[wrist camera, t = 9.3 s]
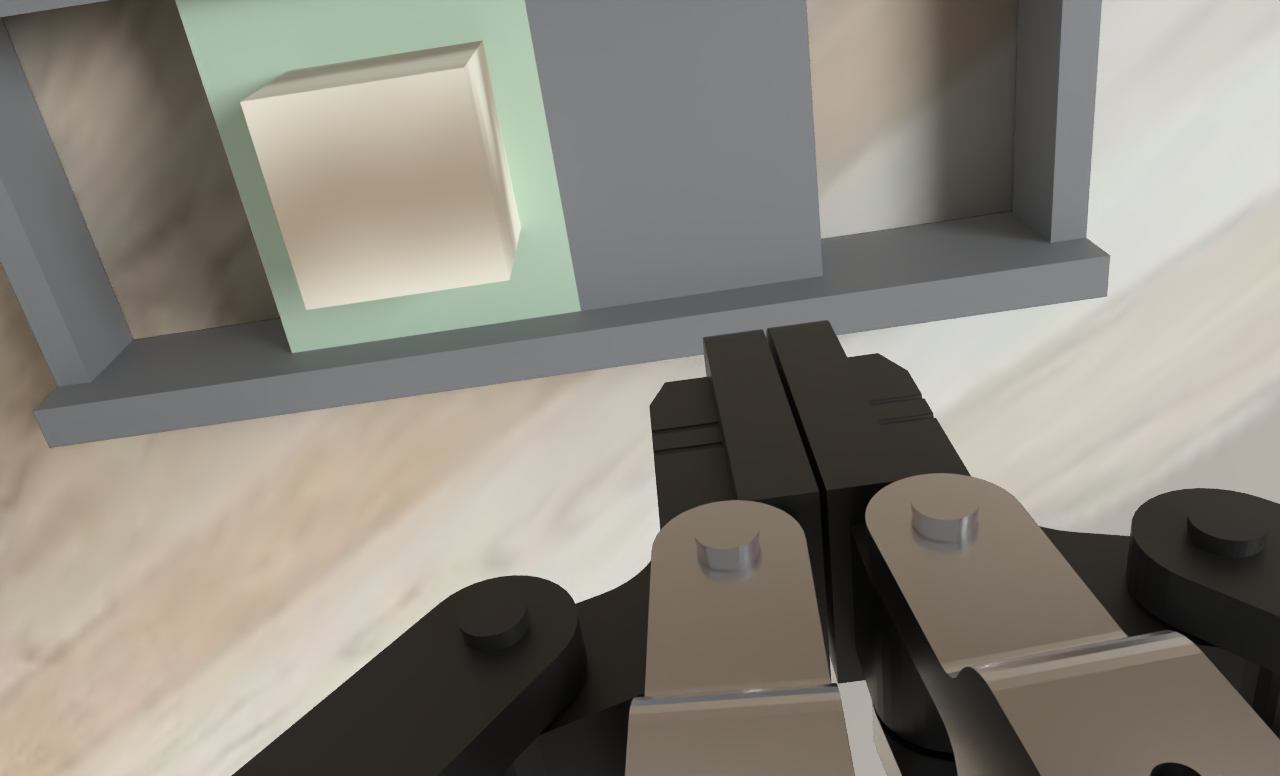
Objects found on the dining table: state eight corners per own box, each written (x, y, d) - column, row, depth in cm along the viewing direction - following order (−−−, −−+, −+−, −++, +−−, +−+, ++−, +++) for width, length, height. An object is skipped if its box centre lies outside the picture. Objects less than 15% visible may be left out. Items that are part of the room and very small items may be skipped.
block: (289, 70, 26) (240, 101, 22) (482, 40, 25) (463, 67, 22) (343, 254, 28) (306, 309, 24) (521, 227, 28) (509, 280, 24)
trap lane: (-57, -32, 27) (-172, -15, 23) (1063, -209, 26) (1147, -224, 22) (117, 377, 33) (49, 448, 29) (1042, 243, 32) (1106, 296, 28)
